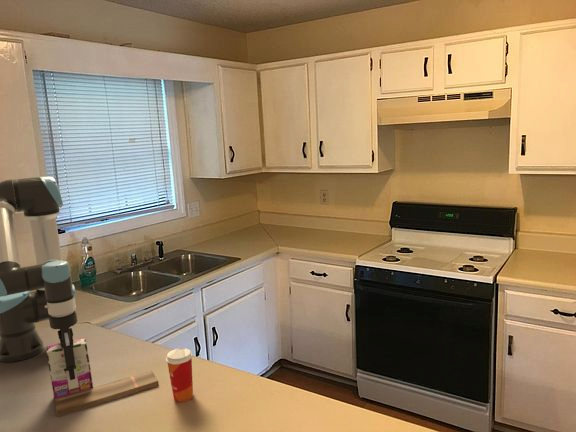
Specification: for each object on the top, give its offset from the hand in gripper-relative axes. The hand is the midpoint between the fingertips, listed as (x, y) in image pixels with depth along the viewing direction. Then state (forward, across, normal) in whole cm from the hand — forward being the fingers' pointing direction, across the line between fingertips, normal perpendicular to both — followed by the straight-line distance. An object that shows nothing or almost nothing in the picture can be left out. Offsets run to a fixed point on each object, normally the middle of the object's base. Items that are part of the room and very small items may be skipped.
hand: (72, 383), depth 145 cm
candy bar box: (+3, 0, 0) cm, 3 cm away
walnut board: (+3, +7, +9) cm, 12 cm away
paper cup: (+3, +22, +28) cm, 36 cm away
